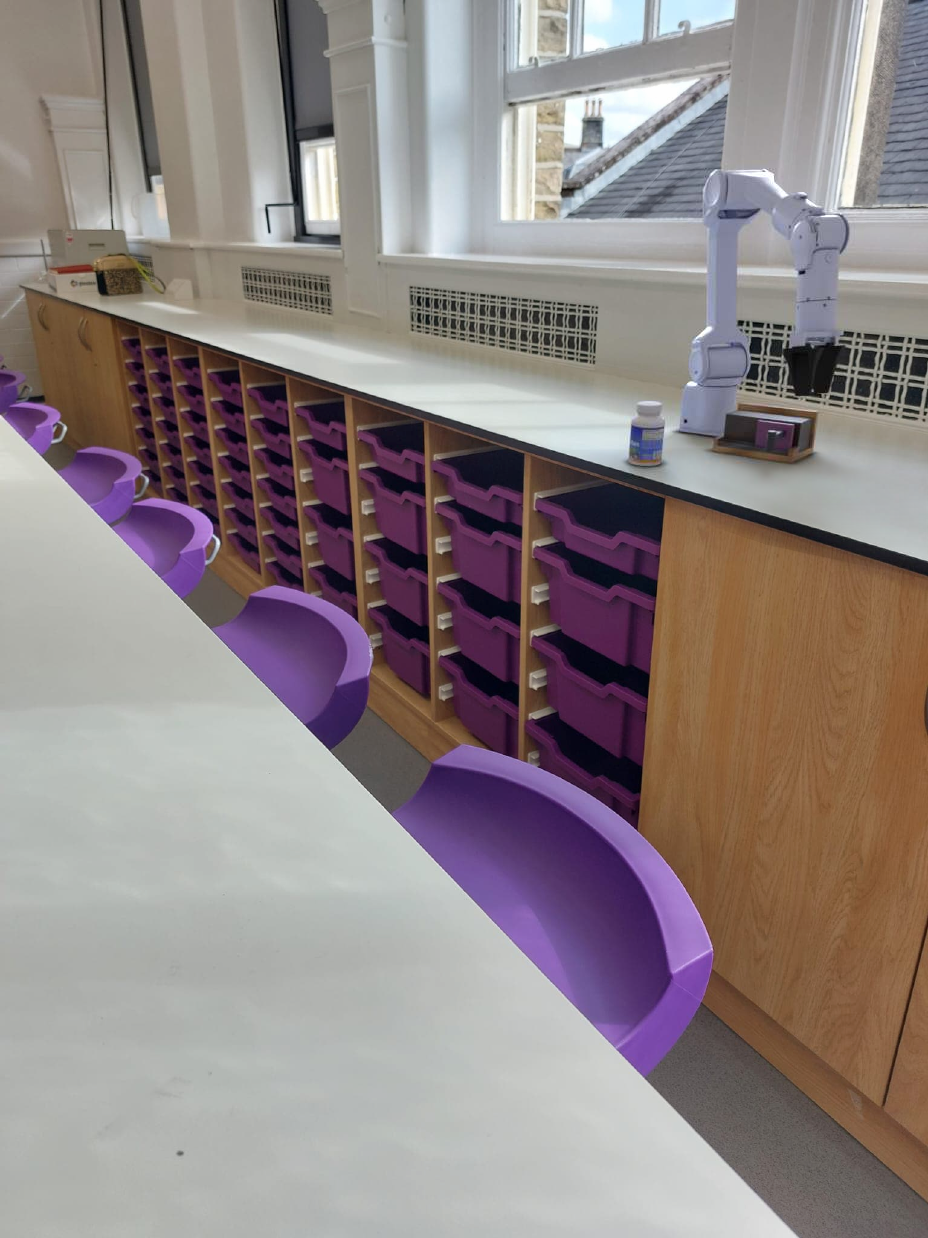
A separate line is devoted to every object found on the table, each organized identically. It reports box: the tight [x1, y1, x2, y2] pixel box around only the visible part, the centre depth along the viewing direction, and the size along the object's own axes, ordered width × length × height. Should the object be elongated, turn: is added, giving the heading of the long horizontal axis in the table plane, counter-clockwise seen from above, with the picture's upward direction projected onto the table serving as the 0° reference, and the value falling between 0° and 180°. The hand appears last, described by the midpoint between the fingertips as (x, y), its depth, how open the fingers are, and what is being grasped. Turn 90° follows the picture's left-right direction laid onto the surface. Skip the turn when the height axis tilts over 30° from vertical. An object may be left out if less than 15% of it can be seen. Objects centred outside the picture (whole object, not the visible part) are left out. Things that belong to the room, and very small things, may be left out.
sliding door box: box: [712, 401, 820, 464], centre depth 149 cm, size 14×9×7 cm, turn 49°
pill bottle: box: [628, 400, 666, 467], centre depth 143 cm, size 5×5×10 cm
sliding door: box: [755, 420, 795, 452], centre depth 143 cm, size 6×6×5 cm
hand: (812, 394), depth 135 cm, fingers open, 7 cm apart
